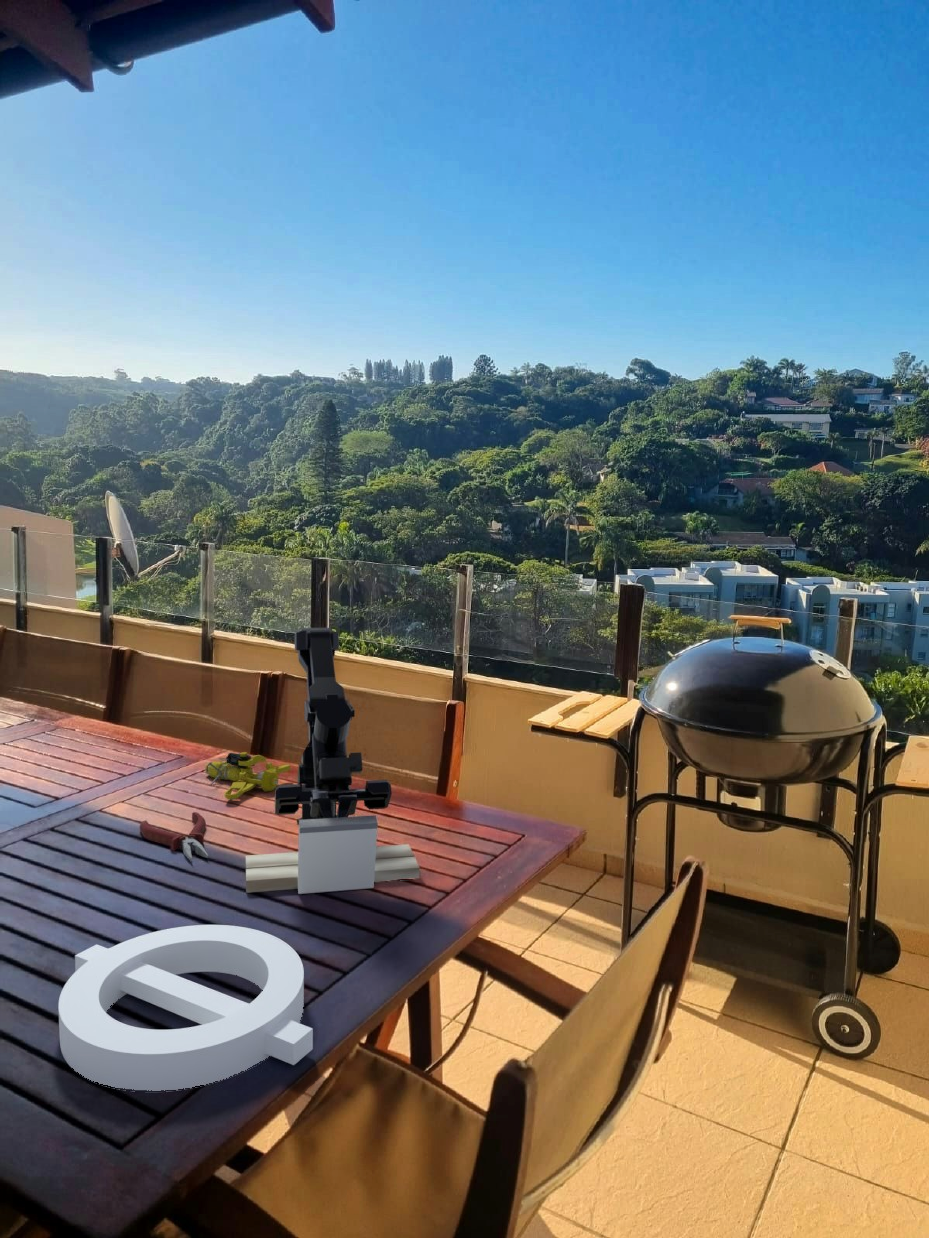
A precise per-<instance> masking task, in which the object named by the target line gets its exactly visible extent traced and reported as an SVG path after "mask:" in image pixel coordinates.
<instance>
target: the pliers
mask: <svg viewBox="0 0 929 1238" xmlns="http://www.w3.org/2000/svg"><path fill="white" fill-rule="evenodd" d="M191 821H192V822H193V823H194V824H195V825H194V826H193V828H192V829H191V831H190V832H189V833H188V836H187V837H186V836H185V835H183V834H179V833H178V834H177V833H175V832H171V831H168V830H165V829H164V830H163V829H159V828H156V827H153V826H152V825H151V824H149V822H148V821H147V820H142V821H141V822H140V824H139V831H140V833H141V834H142V837H143V838H144V839H146V840H149V841H152V842H155V843H158V844H162V845H165V846H169V847H170V851H173V852H174V851H176V850H182V852H183V855H184V856H185V857H186V858H187V859H188V860H189V861H190V862H191V863H193V855H192V851H194V852H195V854H196V855H198V856H201V857H203V858H207V859H209V858H210V855H209V854H208V853H207V851H206V850H205V848H204V846H203V845H204V843H205V841H204V838H205V837H204V836H205V835H204V832H205V830H206V827H207V826H206V825H207V823H206V822H207V821H206V820H205V817H203V816H202V815H201V814H200V813H199V812H198V811H193V812H192V813H191Z"/></svg>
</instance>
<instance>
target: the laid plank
mask: <svg viewBox="0 0 929 1238" xmlns="http://www.w3.org/2000/svg"><path fill="white" fill-rule="evenodd" d="M420 871H421V870H420V865H419V863H418V860H417V859H416V856H415V854H414V853H413V850H412V848H411V846H410V844H408V843H407V844H393V845H392V844H391V845H379V846H377V845H376V858H375V874H374V882H375V883H381V882H380V881H387V880H397V879H409V878H418V877H419V878H420ZM295 889H297V890H298V851H292V852H291V851H290V852H277V853H266V854H265V853H263V854H248V855H245V893H246V894H247V893H261V892H271V891H272V892H273V891H284V890H295Z"/></svg>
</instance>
